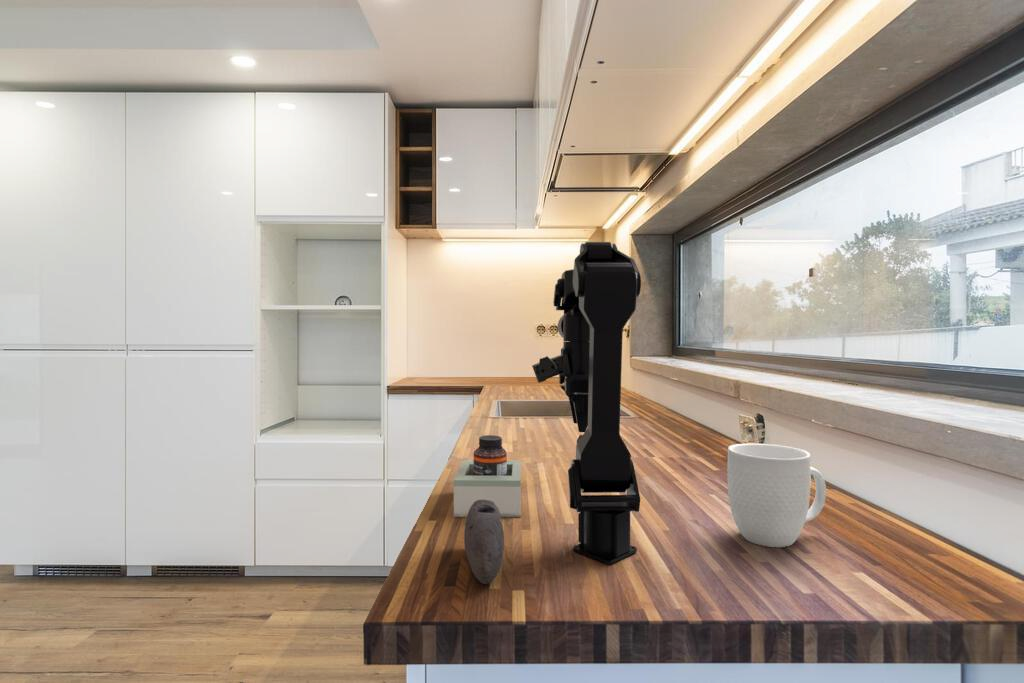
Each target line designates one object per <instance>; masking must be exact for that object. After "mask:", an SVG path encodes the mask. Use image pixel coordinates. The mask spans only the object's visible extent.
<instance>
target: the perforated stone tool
mask: <svg viewBox="0 0 1024 683" xmlns="http://www.w3.org/2000/svg"><path fill="white" fill-rule="evenodd" d="M501 518H502V517H501V514H500V511H499V509H498V507H497V506H496V505H495V503H494V502H492V501H489V500H477V501H475V502H474V503H473V505H472V506H471V508H470V510H469V512H468V515H467V517H466V520H465V523H464V532H463V533H464V537H463V540H464V549H465V553H466V557H467V561H468V564H469V567H470V570H471V572H472V573H473V575H474V577H475V578H476V579H477V581H478V582H479V583H481V584H482V585H487V584H489V583H491V582H492V581H494V579H495V578H496V577H497V575H498V574H499V572H500V569H501V566H502V563H503V557H504V550H505V548H504V547H505V531H504V527H503V523H502V519H501Z"/></svg>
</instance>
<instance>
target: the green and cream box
mask: <svg viewBox="0 0 1024 683" xmlns="http://www.w3.org/2000/svg"><path fill="white" fill-rule="evenodd" d="M521 463H522V460H507V476H473V460H462V461H461V463H460V466H459V468H458V470H457V472H456V475H455V477H454V478H453V517H455V518H458V517H459V518H462V517H463V518H464V517H465V518H467V515H468V512H469V510H470V508H471V506H472V505H473V503H474V502H475V501H477V500H489V501H492V502H494V503H495V505H496V506H497V507H498V509H499V511H500V514H501V518H522V516H521V515H522V514H521V511H522V510H521V508H522V506H521V505H522V504H521V502H522V498H521V497H522V492H521V491H522V486H521V485H522V482H521V481H522V478H521V477H522V472H521V471H522V470H521V469H522V464H521Z"/></svg>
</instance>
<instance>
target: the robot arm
mask: <svg viewBox="0 0 1024 683" xmlns="http://www.w3.org/2000/svg"><path fill="white" fill-rule="evenodd" d="M573 261H574V262H573V269H567V270H564V272H562V274H561V278H558V279H557V280H556V281H557V282H556V284H555V286H554V292H553V293H554V294H553V307H555V311H563V314H562V316H561V317H560V319H559V320H558V322H557V331H558V334H559V335H560V336H561V337H562V339H563V340H562V342H563V346H562V348H560V355H556V356H553V357H551V358H550V357H549V356H548V355H546V356H544V357H541V358H539V361H538V362H537V363H535V364H532V369H533V372H534V375H535V378H536V381H537V383H543V382H545V381H547V380H548V379H552V378H554V377H557V376H558V384H559V387H560V389H561V390H563V392H564V394H565V395H566V397H567V398H568V402H569V408H570V411H571V416H572V421H573V423H574V424H576V425H577V429H578V430H577V431H578V432H579V433H583V434H579V435H578V438H577V439H576V445H575V446H576V447H575V459H573V458H572V460H571V464H570V467H569V468H568V470H567V476H568V491H569V492H568V493H569V508H570V509H572V510H575V511H576V513H578V526H577V527H578V530H577V531H578V532H577V534H578V544H576V545H573V546H572V551H573V552H576V553H579V554H581V555H584V556H586V557H588V558H592V559H594V560H596V561H599V562H602V563H605V564H608V565H611V564H613V563H616V562H619V561H620V560H622V559H624V558H627V557H628V556H630V555H633V554H635V553H636V552H638V547H636V546H634V545H631V512H635V513H638V512H640V507H641V495H640V490H639V486H638V482H637V481H638V479H637V475H636V471H635V465H634V461H633V460H632V454H631V452H630V451H629V449H628V447H627V445H626V443H625V442H624V440H623V439H622V437H621V434H620V432H621V431H620V430H621V429H620V428H621V427H620V425H621V401H622V399H621V398H622V397H621V396H622V395H621V394H622V363H623V362H622V360H623V358H622V357H623V330H624V328H625V326H626V325H627V324H628V322H629V320H630V319H631V318H632V315H633V314H634V313H635V312H636V307H637V298H638V297H639V296H640V293H641V288H642V279H641V278H642V277H641V273H640V270H639V268H638V266H637V264H636V261H635V260H634V259H633V258H632V257H631V256H628V255H627V254H625V253H624V252H621V251H620V250H619V249H618V247H617V245H616V243H612V242H611V241H585V242H584V243H581V244H580V246H579V254H578V255H577V256H576V257H575V258H574V260H573ZM595 493H596V494H595ZM599 493H601V494H599ZM604 493H606V494H604ZM607 493H608V494H607ZM611 493H613V494H611ZM616 493H617V494H616ZM618 493H619V494H618ZM620 493H622V494H620ZM623 493H626V494H623ZM582 494H584V495H582Z"/></svg>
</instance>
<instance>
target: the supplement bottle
mask: <svg viewBox="0 0 1024 683" xmlns="http://www.w3.org/2000/svg"><path fill="white" fill-rule="evenodd" d="M478 439H479V440H478V447H477V448H476V449H475V450H474V452H473V476H507V461H508V453H507V451H506V450H505V448H503V446H502V445H503V443H502V442H503V441H502V440H503V439H502V437H501V436H500V435H492V434H491V435H482V436H479V437H478Z"/></svg>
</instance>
